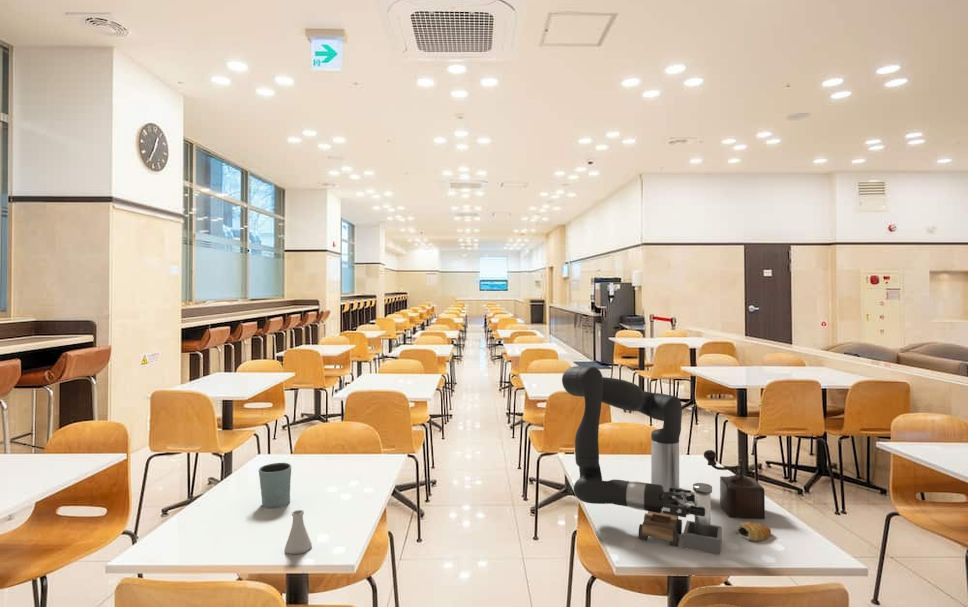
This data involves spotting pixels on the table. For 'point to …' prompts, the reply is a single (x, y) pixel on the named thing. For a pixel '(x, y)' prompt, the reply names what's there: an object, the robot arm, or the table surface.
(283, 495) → the grey cup
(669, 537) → the trolley
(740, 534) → the pastry
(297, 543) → the flask
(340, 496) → the table surface
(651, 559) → the table surface
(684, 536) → the tray
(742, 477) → the manual coffee grinder
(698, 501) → the pin
